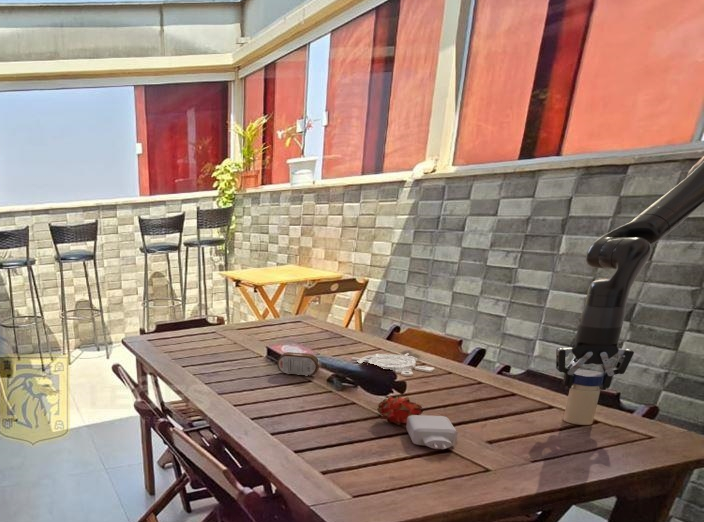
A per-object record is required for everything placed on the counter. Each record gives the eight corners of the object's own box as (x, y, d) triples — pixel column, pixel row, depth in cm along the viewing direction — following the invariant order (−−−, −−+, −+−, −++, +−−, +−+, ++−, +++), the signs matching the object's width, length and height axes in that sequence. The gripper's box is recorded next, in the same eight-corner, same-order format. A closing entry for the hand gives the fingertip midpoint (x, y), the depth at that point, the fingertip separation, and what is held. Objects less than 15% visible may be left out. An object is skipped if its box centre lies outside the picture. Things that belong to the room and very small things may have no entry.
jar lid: (579, 386, 122) (582, 377, 121) (564, 379, 127) (566, 370, 126) (609, 386, 120) (611, 376, 120) (592, 378, 126) (594, 369, 125)
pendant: (404, 352, 195) (404, 349, 195) (442, 373, 169) (442, 370, 169) (348, 357, 198) (348, 353, 198) (376, 378, 172) (377, 374, 172)
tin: (319, 375, 181) (320, 353, 178) (316, 378, 179) (317, 356, 176) (278, 371, 190) (279, 351, 187) (276, 374, 188) (276, 353, 185)
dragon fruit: (371, 426, 140) (416, 431, 138) (382, 419, 132) (431, 425, 130) (371, 398, 142) (416, 402, 140) (383, 390, 134) (431, 394, 132)
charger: (417, 455, 119) (405, 430, 132) (462, 458, 116) (446, 432, 129) (419, 438, 118) (407, 414, 131) (465, 440, 114) (448, 416, 127)
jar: (564, 415, 131) (573, 375, 127) (593, 420, 127) (603, 378, 123) (561, 422, 127) (570, 380, 124) (591, 426, 123) (601, 384, 120)
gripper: (566, 326, 119) (552, 391, 125) (649, 326, 112) (630, 395, 118) (557, 320, 125) (544, 382, 131) (634, 319, 118) (617, 385, 124)
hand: (584, 388), depth 124 cm, fingers closed on jar lid, 6 cm apart
